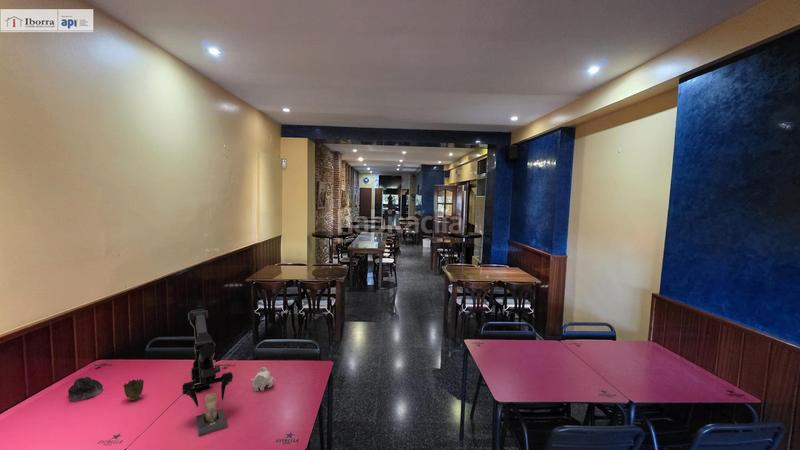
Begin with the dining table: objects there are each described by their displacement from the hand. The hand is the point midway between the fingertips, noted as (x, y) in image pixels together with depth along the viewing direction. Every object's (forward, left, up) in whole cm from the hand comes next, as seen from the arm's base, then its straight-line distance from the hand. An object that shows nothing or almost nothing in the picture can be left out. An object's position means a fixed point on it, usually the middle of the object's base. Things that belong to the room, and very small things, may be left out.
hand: (210, 403), depth 146 cm
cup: (+16, -44, -8) cm, 47 cm away
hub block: (+1, +2, -8) cm, 9 cm away
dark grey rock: (+29, -66, -9) cm, 73 cm away
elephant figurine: (-28, -9, -9) cm, 31 cm away
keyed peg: (+1, +2, -8) cm, 9 cm away
